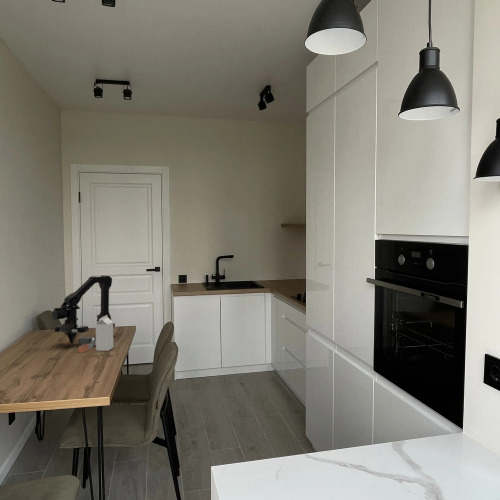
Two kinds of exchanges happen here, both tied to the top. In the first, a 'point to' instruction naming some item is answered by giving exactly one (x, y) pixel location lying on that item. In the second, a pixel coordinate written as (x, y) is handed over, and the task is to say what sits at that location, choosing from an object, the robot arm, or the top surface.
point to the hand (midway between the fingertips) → (71, 343)
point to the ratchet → (88, 345)
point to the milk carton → (104, 334)
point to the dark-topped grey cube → (84, 340)
